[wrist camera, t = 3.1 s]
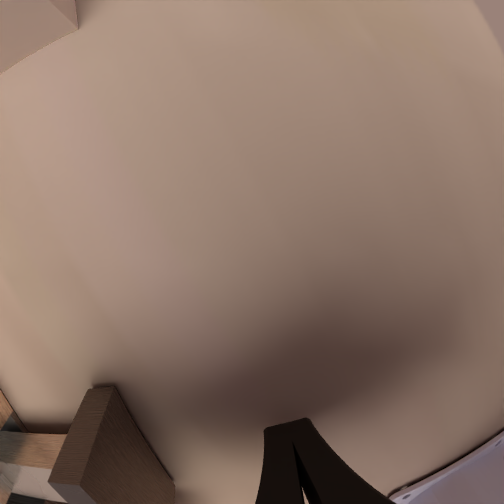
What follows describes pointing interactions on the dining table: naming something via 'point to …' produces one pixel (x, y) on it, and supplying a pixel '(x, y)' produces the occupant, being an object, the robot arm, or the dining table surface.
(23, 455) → the bar with square endplate
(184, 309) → the dining table surface
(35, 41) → the white cube
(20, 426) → the gauge housing
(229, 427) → the dining table surface
